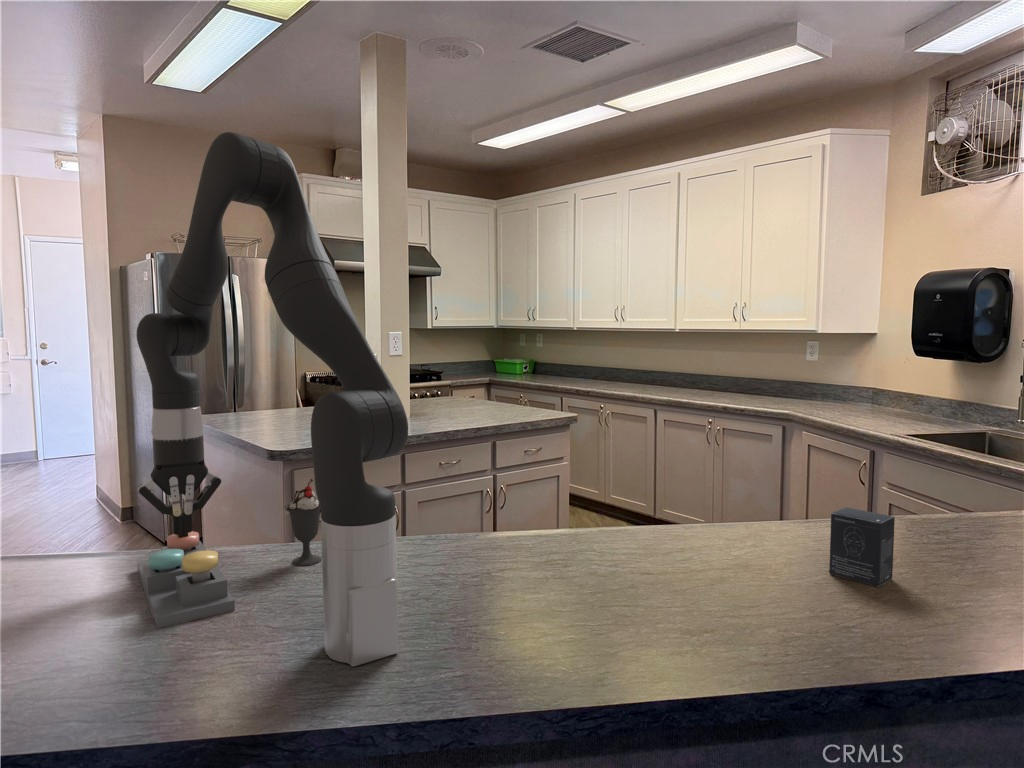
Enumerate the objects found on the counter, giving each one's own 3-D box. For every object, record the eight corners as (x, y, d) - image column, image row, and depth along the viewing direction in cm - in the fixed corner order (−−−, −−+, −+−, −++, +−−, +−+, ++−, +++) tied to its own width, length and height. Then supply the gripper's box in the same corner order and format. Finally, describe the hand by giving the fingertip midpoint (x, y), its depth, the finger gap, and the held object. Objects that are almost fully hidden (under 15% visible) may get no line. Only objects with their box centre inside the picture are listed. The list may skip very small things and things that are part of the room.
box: (892, 579, 106) (896, 516, 105) (878, 588, 102) (881, 522, 101) (843, 566, 112) (845, 505, 111) (827, 574, 108) (830, 511, 107)
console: (234, 610, 95) (233, 583, 95) (157, 628, 89) (155, 600, 89) (201, 558, 116) (200, 536, 116) (137, 570, 111) (136, 547, 110)
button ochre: (221, 584, 96) (220, 557, 96) (186, 591, 93) (184, 564, 93) (215, 574, 100) (214, 548, 100) (180, 581, 97) (179, 554, 97)
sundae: (320, 568, 112) (317, 482, 110) (281, 567, 112) (278, 481, 110) (331, 554, 118) (329, 473, 117) (294, 554, 118) (292, 473, 117)
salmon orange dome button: (202, 560, 109) (201, 537, 109) (170, 566, 107) (169, 542, 106) (197, 552, 113) (196, 529, 113) (166, 558, 111) (165, 534, 110)
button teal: (187, 580, 101) (186, 555, 100) (152, 588, 98) (150, 561, 98) (182, 571, 105) (181, 546, 104) (148, 578, 102) (146, 552, 102)
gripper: (134, 441, 101) (140, 549, 103) (225, 433, 109) (229, 534, 110) (130, 434, 107) (135, 537, 109) (216, 427, 115) (220, 523, 117)
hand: (182, 535), depth 110 cm, fingers closed
